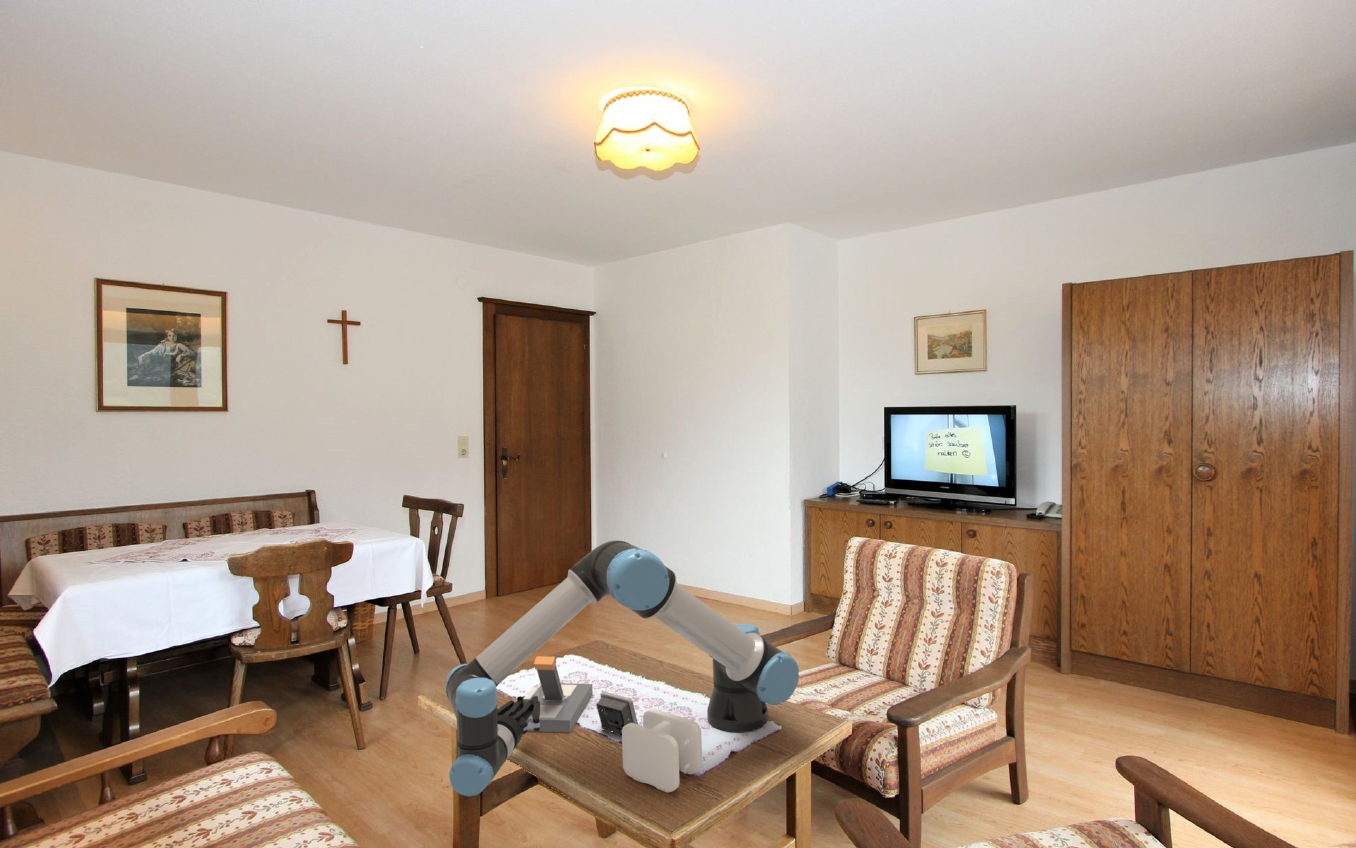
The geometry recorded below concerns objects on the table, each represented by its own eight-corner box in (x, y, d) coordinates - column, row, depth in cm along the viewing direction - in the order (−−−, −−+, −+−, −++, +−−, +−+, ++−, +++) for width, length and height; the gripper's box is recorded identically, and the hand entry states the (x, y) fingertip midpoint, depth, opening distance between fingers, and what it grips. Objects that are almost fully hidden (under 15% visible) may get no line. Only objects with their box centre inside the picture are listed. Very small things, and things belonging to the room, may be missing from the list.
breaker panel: (570, 732, 170) (569, 716, 170) (514, 731, 172) (514, 714, 172) (592, 694, 192) (592, 680, 192) (543, 693, 194) (542, 679, 194)
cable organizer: (619, 776, 150) (617, 722, 150) (650, 755, 158) (649, 704, 158) (675, 798, 141) (673, 741, 141) (705, 775, 149) (703, 721, 149)
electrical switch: (640, 731, 170) (636, 695, 169) (627, 743, 166) (623, 705, 164) (609, 723, 175) (605, 688, 174) (596, 733, 171) (592, 697, 170)
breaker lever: (562, 701, 180) (552, 664, 173) (544, 701, 181) (533, 664, 173) (564, 693, 182) (554, 656, 175) (546, 693, 183) (536, 656, 175)
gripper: (528, 723, 143) (561, 678, 166) (467, 721, 145) (509, 676, 168) (529, 759, 143) (562, 709, 167) (468, 757, 145) (510, 707, 168)
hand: (535, 693), depth 167 cm, fingers closed
